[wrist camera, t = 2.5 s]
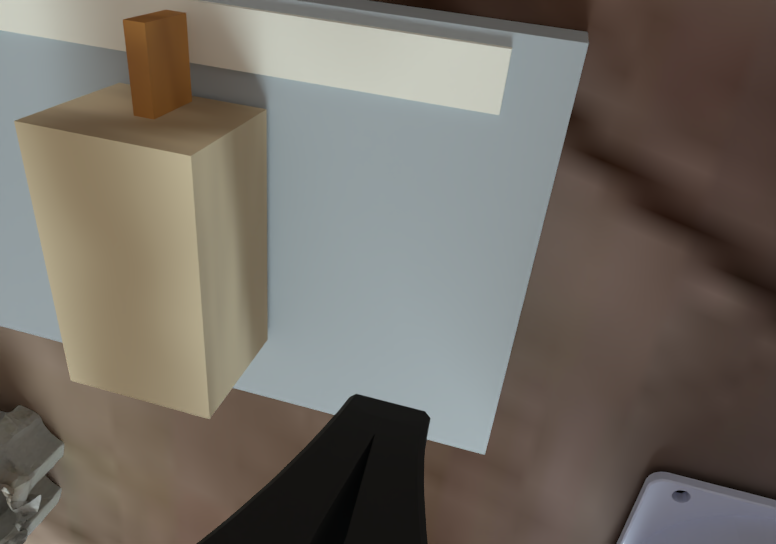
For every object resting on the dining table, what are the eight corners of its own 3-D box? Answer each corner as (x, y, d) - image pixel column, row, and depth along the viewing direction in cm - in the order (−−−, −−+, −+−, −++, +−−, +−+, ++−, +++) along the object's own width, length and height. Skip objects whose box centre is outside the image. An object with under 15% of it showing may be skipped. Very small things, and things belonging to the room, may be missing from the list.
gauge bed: (587, 32, 14) (596, 115, 8) (490, 421, 20) (455, 629, 14) (-226, -85, 18) (-619, -86, 12) (-98, 270, 24) (-316, 384, 18)
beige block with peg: (266, 21, 14) (183, 49, 11) (267, 339, 19) (209, 419, 16) (108, -3, 15) (-9, 17, 12) (148, 309, 19) (71, 380, 16)
